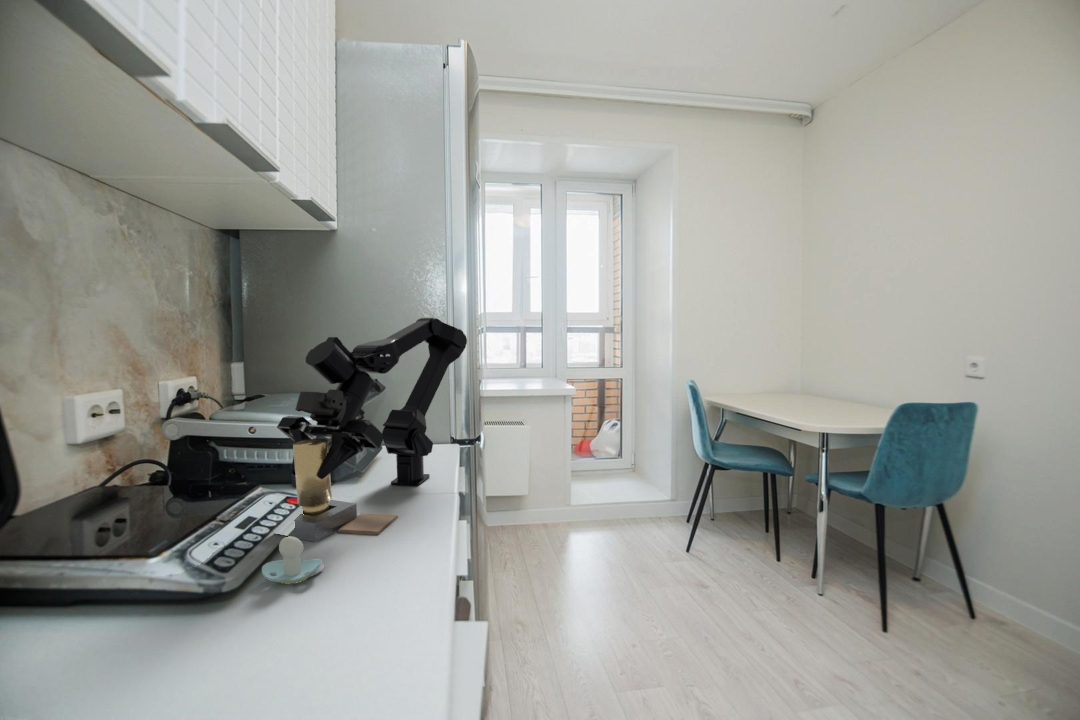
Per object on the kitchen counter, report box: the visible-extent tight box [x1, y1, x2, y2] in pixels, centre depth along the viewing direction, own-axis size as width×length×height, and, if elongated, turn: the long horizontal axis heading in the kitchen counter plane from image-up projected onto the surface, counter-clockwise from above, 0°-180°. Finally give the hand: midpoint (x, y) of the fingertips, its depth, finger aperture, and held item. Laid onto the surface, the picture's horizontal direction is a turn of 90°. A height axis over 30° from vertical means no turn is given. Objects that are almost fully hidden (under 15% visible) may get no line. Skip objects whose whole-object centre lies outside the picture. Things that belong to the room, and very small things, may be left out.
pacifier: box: [261, 536, 325, 585], centre depth 63 cm, size 7×6×6 cm
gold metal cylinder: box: [292, 438, 333, 517], centre depth 78 cm, size 5×5×13 cm
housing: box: [290, 499, 358, 543], centre depth 79 cm, size 9×9×3 cm
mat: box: [338, 512, 399, 536], centre depth 79 cm, size 7×7×1 cm
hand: (306, 476), depth 77 cm, fingers closed on gold metal cylinder, 5 cm apart
